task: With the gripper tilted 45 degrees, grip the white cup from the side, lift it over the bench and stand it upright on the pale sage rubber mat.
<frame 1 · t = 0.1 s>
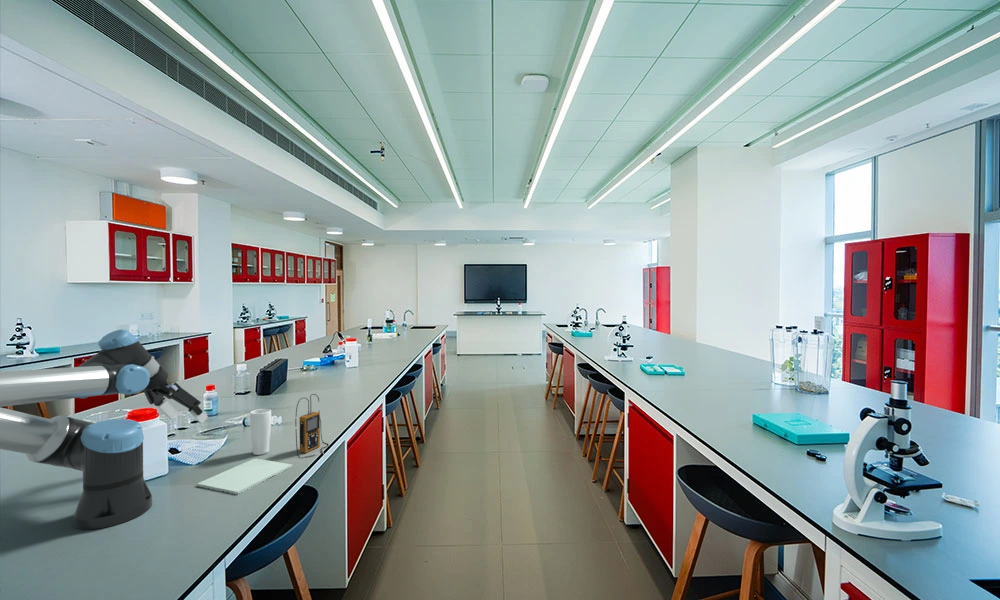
hand: (189, 418, 142), 15 cm above the counter, tool tilted 35°, fingers open, 13 cm apart
white cup: (261, 453, 152), on the counter
mat: (247, 476, 133), on the counter
multimeter: (318, 451, 154), on the counter
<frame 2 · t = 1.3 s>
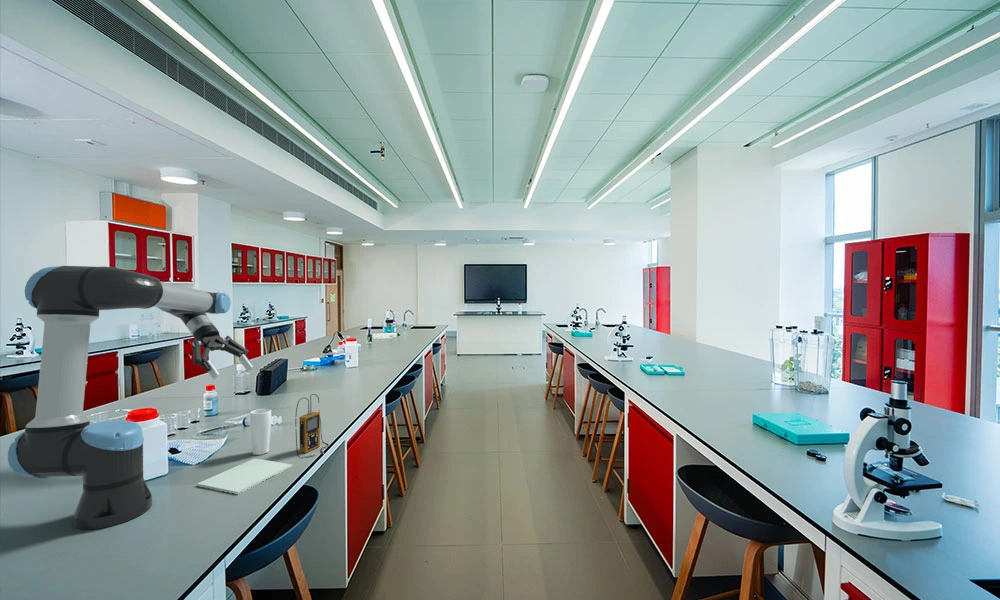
hand: (234, 373, 155), 28 cm above the counter, tool tilted 45°, fingers open, 13 cm apart
nothing on the counter moved.
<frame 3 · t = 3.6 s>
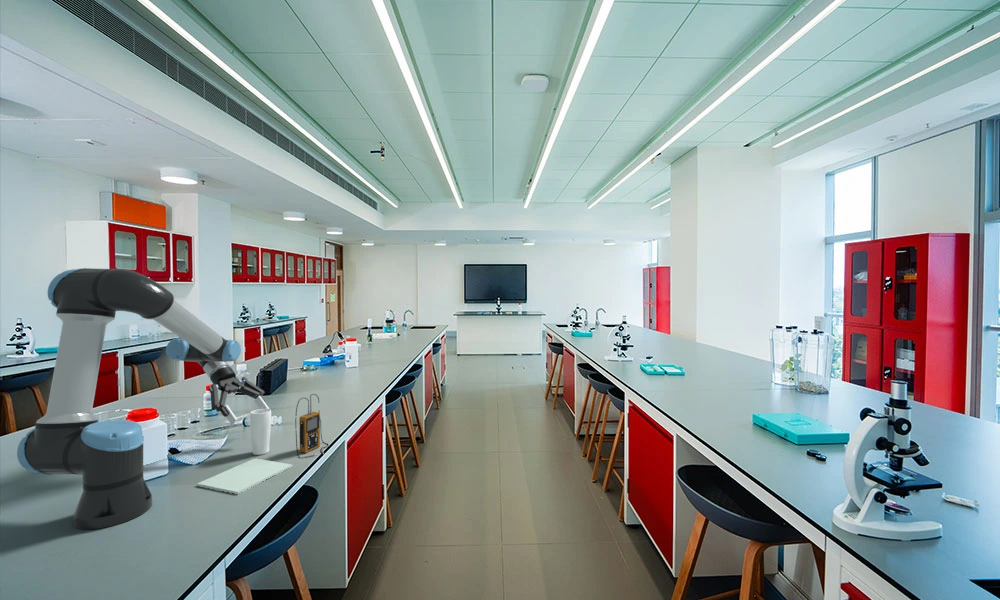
hand: (251, 416, 155), 12 cm above the counter, tool tilted 45°, fingers open, 13 cm apart
nothing on the counter moved.
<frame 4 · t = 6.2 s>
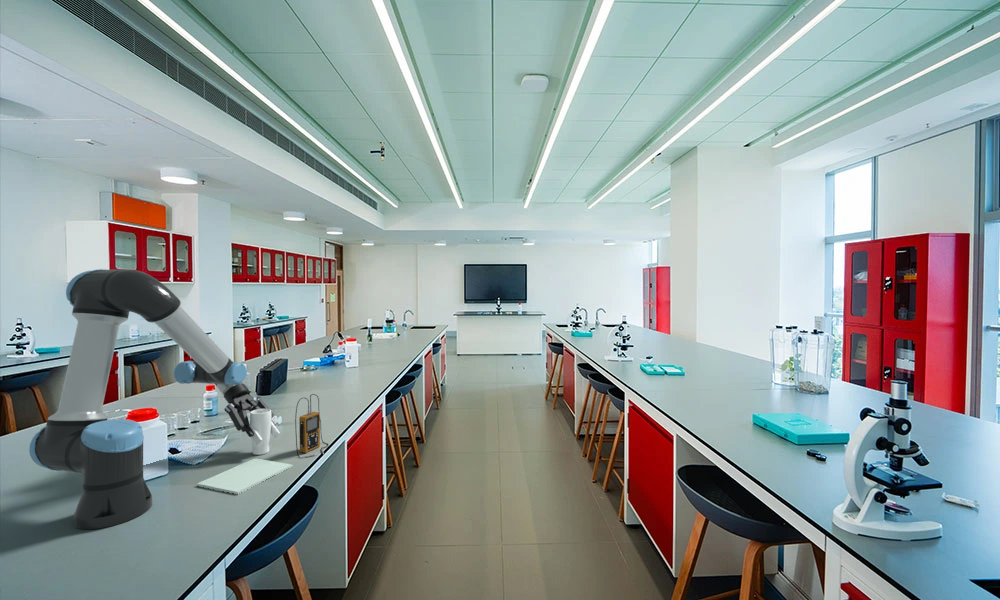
hand: (268, 438, 151), 5 cm above the counter, tool tilted 45°, fingers closed on white cup, 7 cm apart
white cup: (261, 453, 152), on the counter, touching gripper
everything else where it was.
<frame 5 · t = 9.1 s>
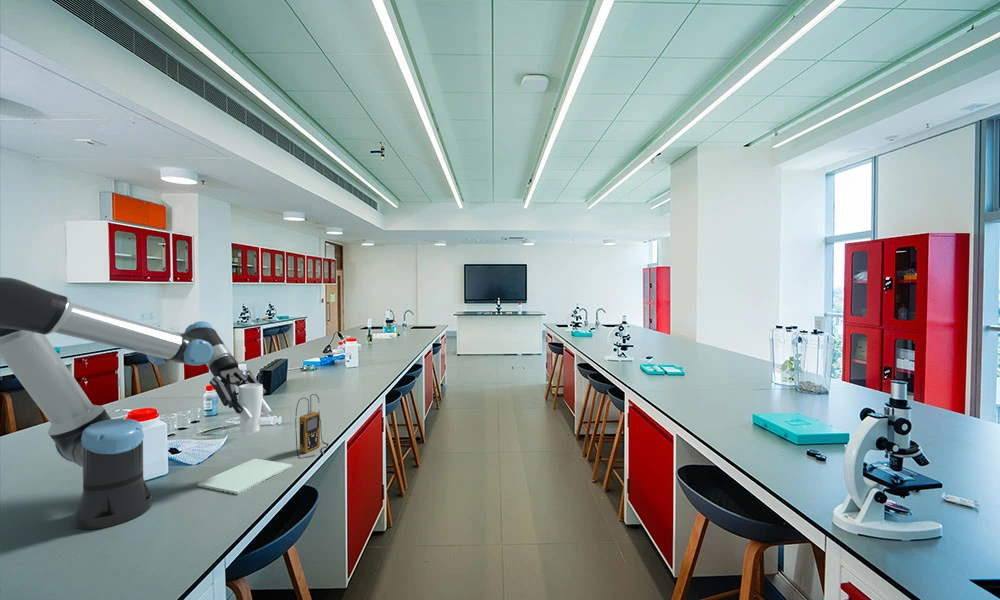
hand: (258, 416, 135), 18 cm above the counter, tool tilted 45°, fingers closed on white cup, 7 cm apart
white cup: (249, 433, 136), point 13 cm above the counter, touching gripper
everything else where it was.
when the fingers open (8 cm above the counter, at t = 12.3 s): white cup drops 1 cm, resting on mat.
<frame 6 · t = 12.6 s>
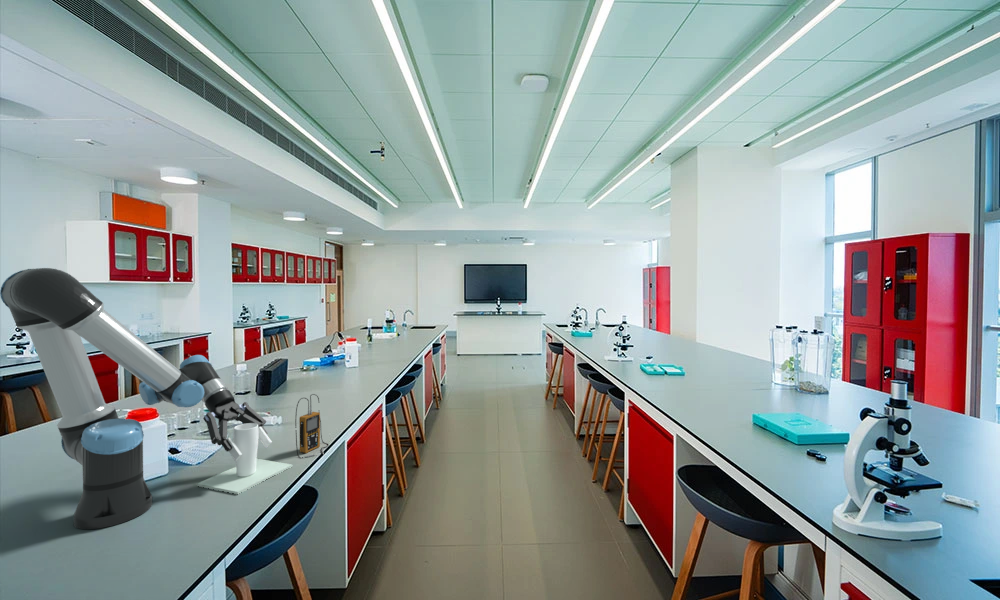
hand: (254, 451, 132), 8 cm above the counter, tool tilted 45°, fingers open, 10 cm apart
white cup: (246, 474, 133), point 1 cm above the counter, touching mat
everything else where it was.
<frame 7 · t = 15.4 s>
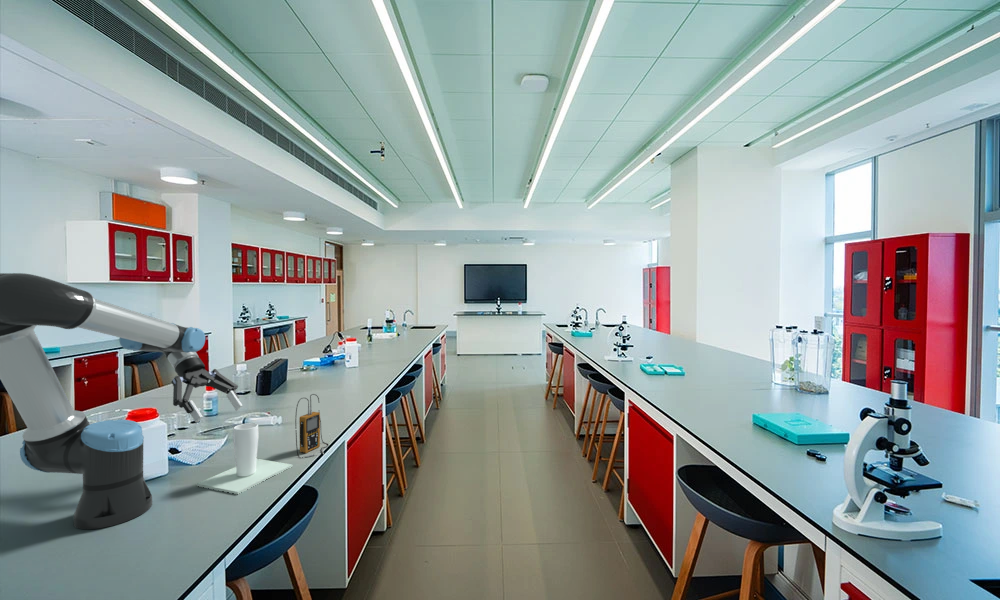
hand: (220, 413, 136), 19 cm above the counter, tool tilted 45°, fingers open, 13 cm apart
nothing on the counter moved.
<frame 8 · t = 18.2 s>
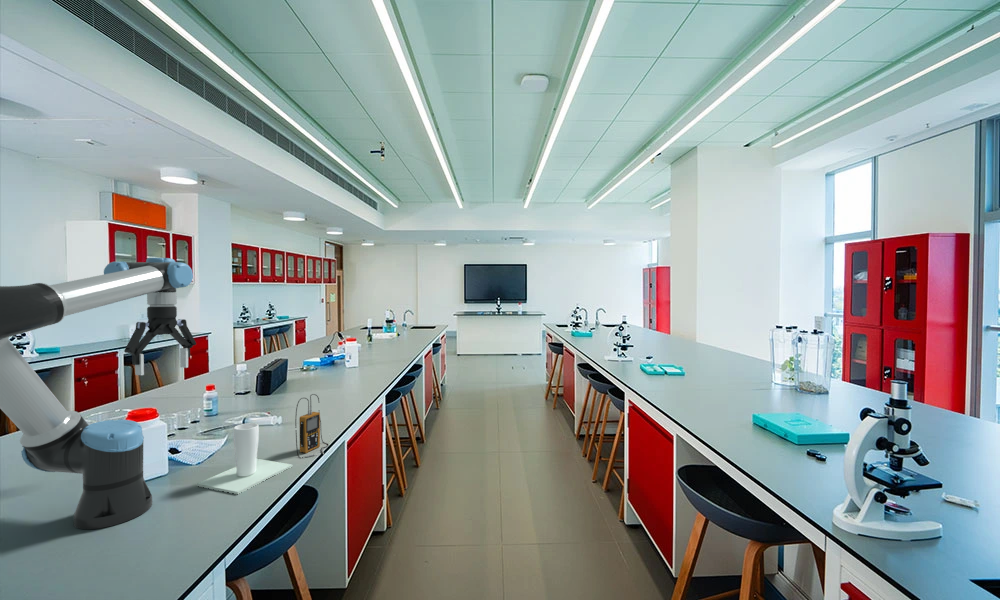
hand: (163, 371, 138), 32 cm above the counter, tool pointing down, fingers open, 13 cm apart
nothing on the counter moved.
at the end: white cup inside the target area on the mat (0.2 cm from its centre), point 0.6 cm above the mat's base; white cup tilted 0°; the gripper is holding nothing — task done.
